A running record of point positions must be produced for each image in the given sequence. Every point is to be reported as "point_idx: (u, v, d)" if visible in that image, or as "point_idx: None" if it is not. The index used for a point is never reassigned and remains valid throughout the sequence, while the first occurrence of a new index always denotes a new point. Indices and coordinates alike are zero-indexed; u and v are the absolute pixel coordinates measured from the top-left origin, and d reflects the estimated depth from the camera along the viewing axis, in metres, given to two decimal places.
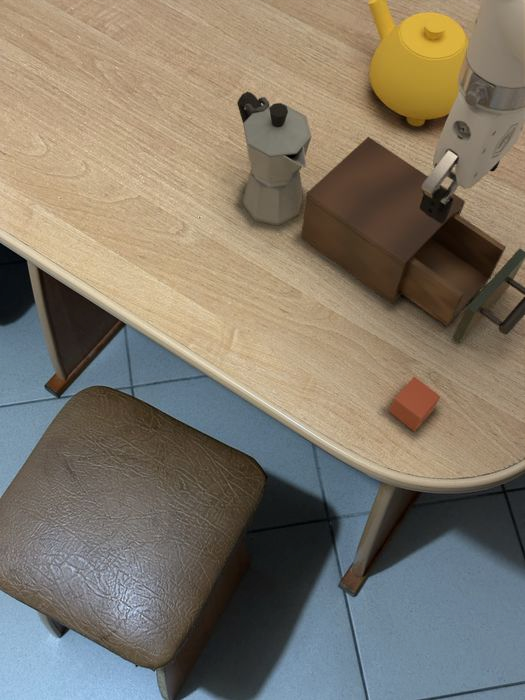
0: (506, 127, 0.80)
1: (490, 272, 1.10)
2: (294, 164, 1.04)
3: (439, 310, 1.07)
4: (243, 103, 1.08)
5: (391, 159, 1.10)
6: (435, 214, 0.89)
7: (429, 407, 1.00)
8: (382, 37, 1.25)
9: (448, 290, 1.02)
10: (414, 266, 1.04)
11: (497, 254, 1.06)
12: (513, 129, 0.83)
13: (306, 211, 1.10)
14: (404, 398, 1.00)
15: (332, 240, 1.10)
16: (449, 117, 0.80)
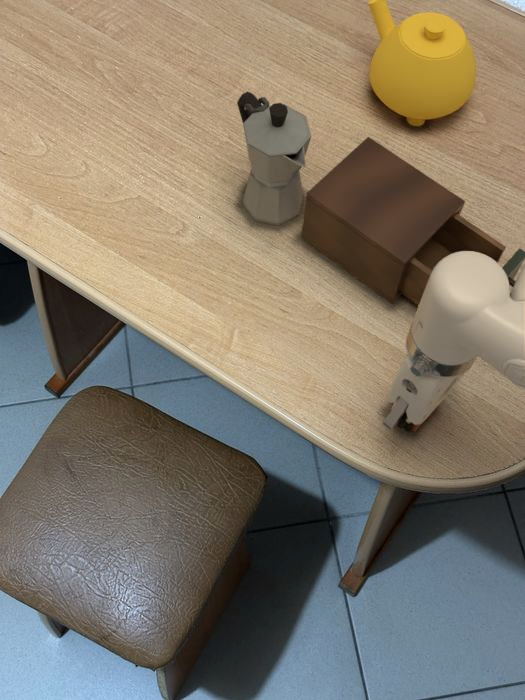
0: (450, 381, 0.90)
1: None
2: (294, 164, 1.04)
3: None
4: (243, 103, 1.08)
5: (391, 159, 1.10)
6: (402, 427, 1.01)
7: None
8: (382, 37, 1.25)
9: None
10: (414, 266, 1.04)
11: (497, 254, 1.06)
12: None
13: (306, 211, 1.10)
14: None
15: (332, 240, 1.10)
16: (399, 374, 0.90)
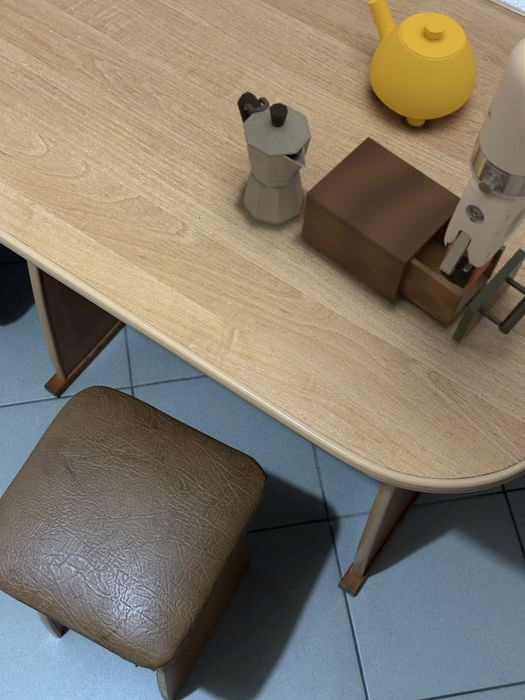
0: (519, 209, 0.80)
1: (490, 272, 1.10)
2: (294, 164, 1.04)
3: (439, 310, 1.07)
4: (243, 103, 1.08)
5: (391, 159, 1.10)
6: (456, 281, 0.90)
7: None
8: (382, 37, 1.25)
9: (448, 290, 1.02)
10: (414, 266, 1.04)
11: (497, 254, 1.06)
12: None
13: (306, 211, 1.10)
14: None
15: (332, 240, 1.10)
16: (461, 200, 0.79)
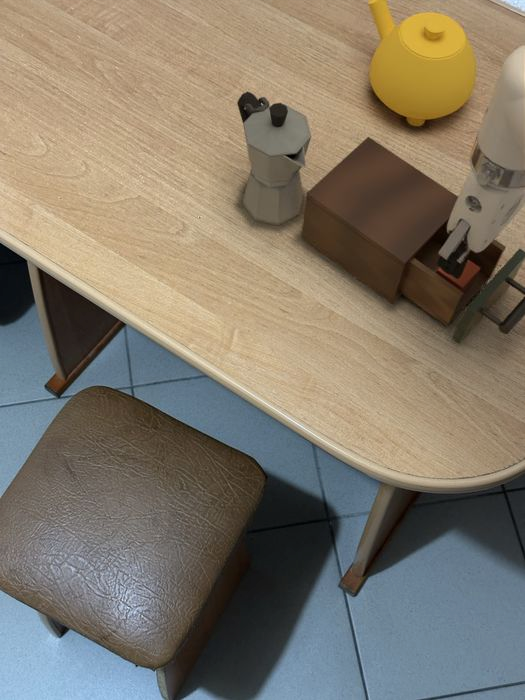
0: (513, 200, 0.90)
1: (490, 272, 1.10)
2: (294, 164, 1.04)
3: (439, 310, 1.07)
4: (243, 103, 1.08)
5: (391, 159, 1.10)
6: (451, 271, 0.99)
7: (470, 277, 1.06)
8: (382, 37, 1.25)
9: (448, 290, 1.02)
10: (414, 266, 1.04)
11: (497, 254, 1.06)
12: (519, 200, 0.92)
13: (306, 211, 1.10)
14: None
15: (332, 240, 1.10)
16: (462, 192, 0.89)
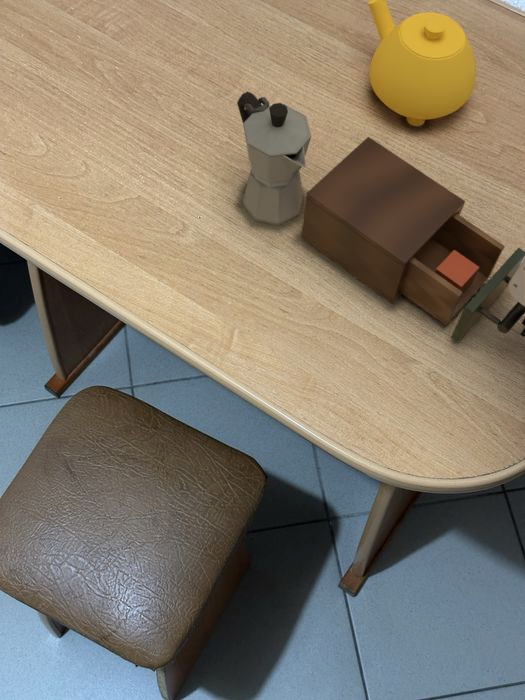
0: None
1: (489, 271, 1.10)
2: (294, 164, 1.04)
3: (438, 309, 1.07)
4: (243, 103, 1.08)
5: (391, 159, 1.10)
6: (522, 321, 1.04)
7: (469, 276, 1.06)
8: (382, 37, 1.25)
9: (447, 289, 1.02)
10: (413, 265, 1.04)
11: (496, 254, 1.06)
12: None
13: (306, 211, 1.10)
14: (445, 269, 1.06)
15: (332, 240, 1.10)
16: None
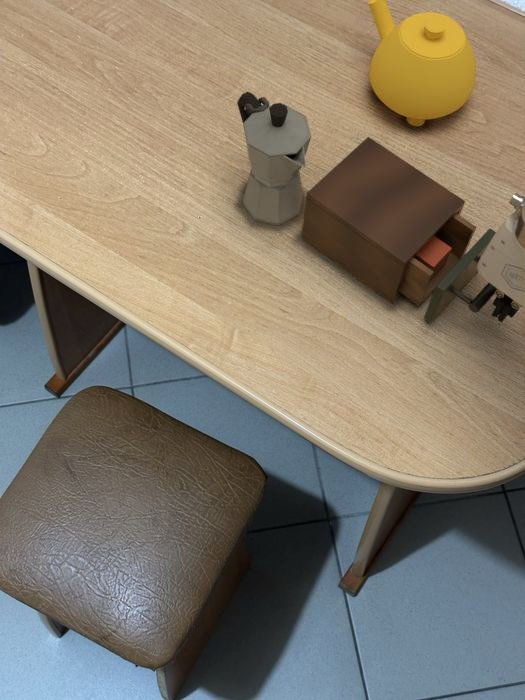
0: (516, 258, 0.93)
1: (462, 253, 1.11)
2: (294, 164, 1.04)
3: (411, 290, 1.08)
4: (243, 103, 1.08)
5: (391, 159, 1.10)
6: None
7: (441, 257, 1.07)
8: (382, 37, 1.25)
9: (418, 269, 1.04)
10: None
11: (468, 234, 1.07)
12: None
13: (306, 211, 1.10)
14: None
15: (332, 240, 1.10)
16: None
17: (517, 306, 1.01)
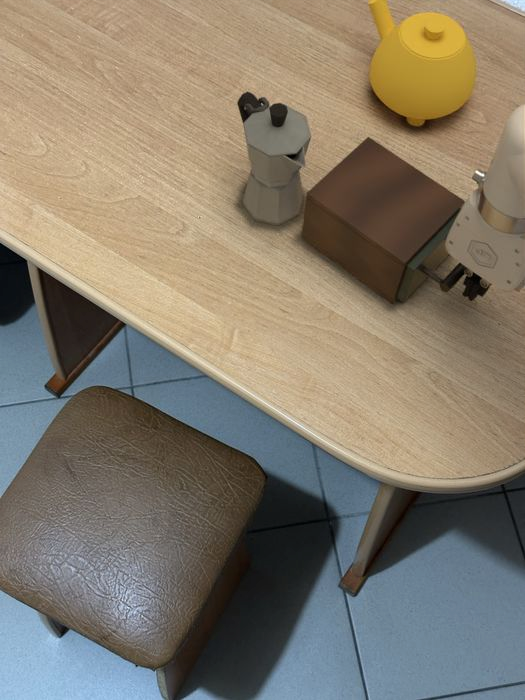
0: (480, 234, 0.95)
1: None
2: (294, 164, 1.04)
3: None
4: (243, 103, 1.08)
5: (391, 159, 1.10)
6: None
7: None
8: (382, 37, 1.25)
9: None
10: None
11: None
12: (493, 258, 0.96)
13: (306, 211, 1.10)
14: None
15: (332, 240, 1.10)
16: None
17: (485, 284, 1.03)
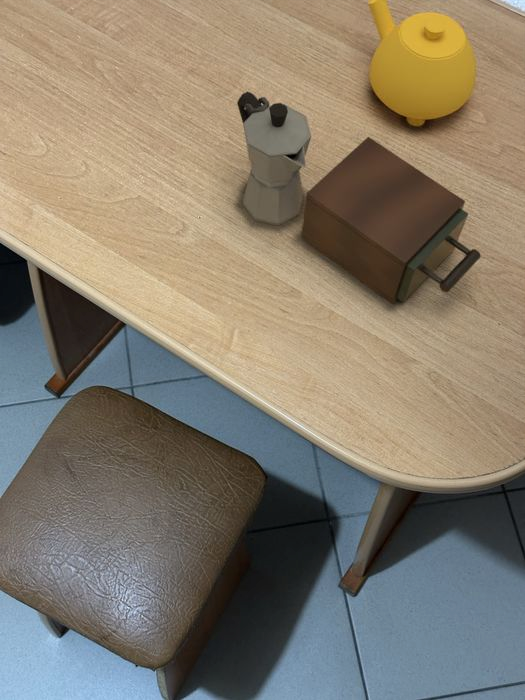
0: None
1: None
2: (294, 164, 1.04)
3: None
4: (243, 103, 1.08)
5: (391, 159, 1.10)
6: None
7: None
8: (382, 37, 1.25)
9: None
10: None
11: None
12: None
13: (306, 211, 1.10)
14: None
15: (332, 240, 1.10)
16: None
17: None
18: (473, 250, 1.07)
